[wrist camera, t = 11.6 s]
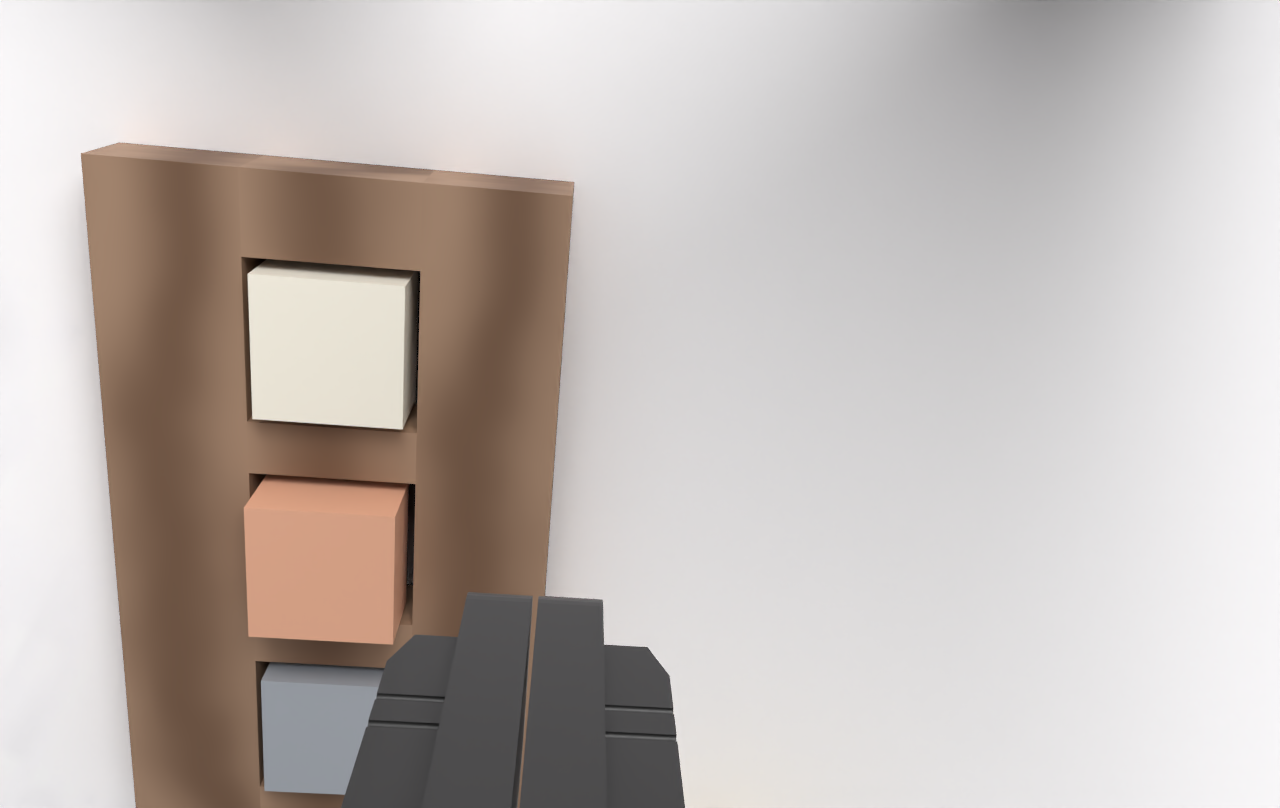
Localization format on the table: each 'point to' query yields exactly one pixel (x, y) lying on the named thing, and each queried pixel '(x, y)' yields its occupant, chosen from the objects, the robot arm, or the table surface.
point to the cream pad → (332, 343)
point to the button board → (250, 448)
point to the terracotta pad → (326, 559)
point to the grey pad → (314, 724)
